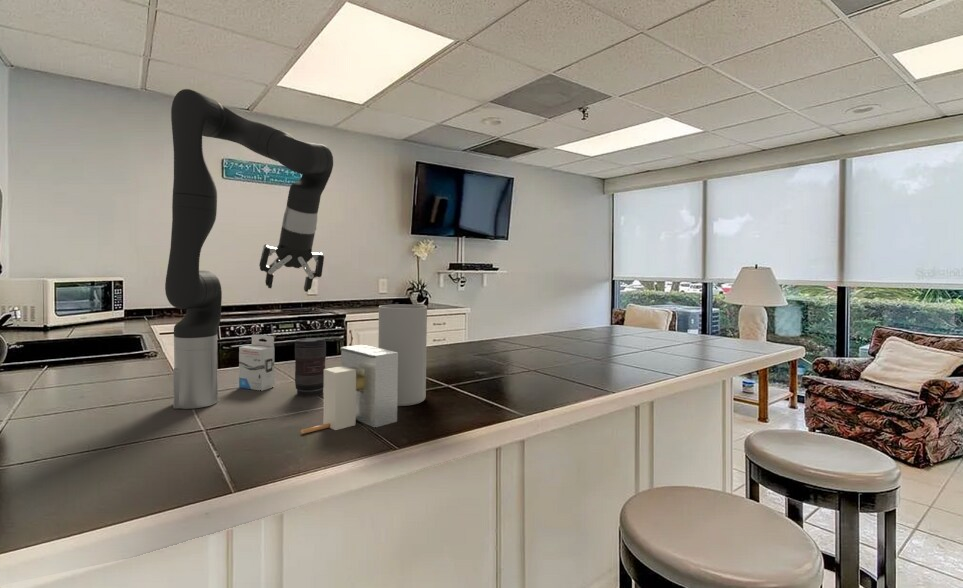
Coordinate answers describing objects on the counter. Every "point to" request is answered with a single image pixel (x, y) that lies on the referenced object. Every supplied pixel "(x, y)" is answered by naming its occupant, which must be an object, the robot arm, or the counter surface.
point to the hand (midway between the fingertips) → (287, 288)
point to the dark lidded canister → (310, 366)
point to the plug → (339, 398)
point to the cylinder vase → (406, 348)
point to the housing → (374, 383)
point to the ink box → (257, 364)
